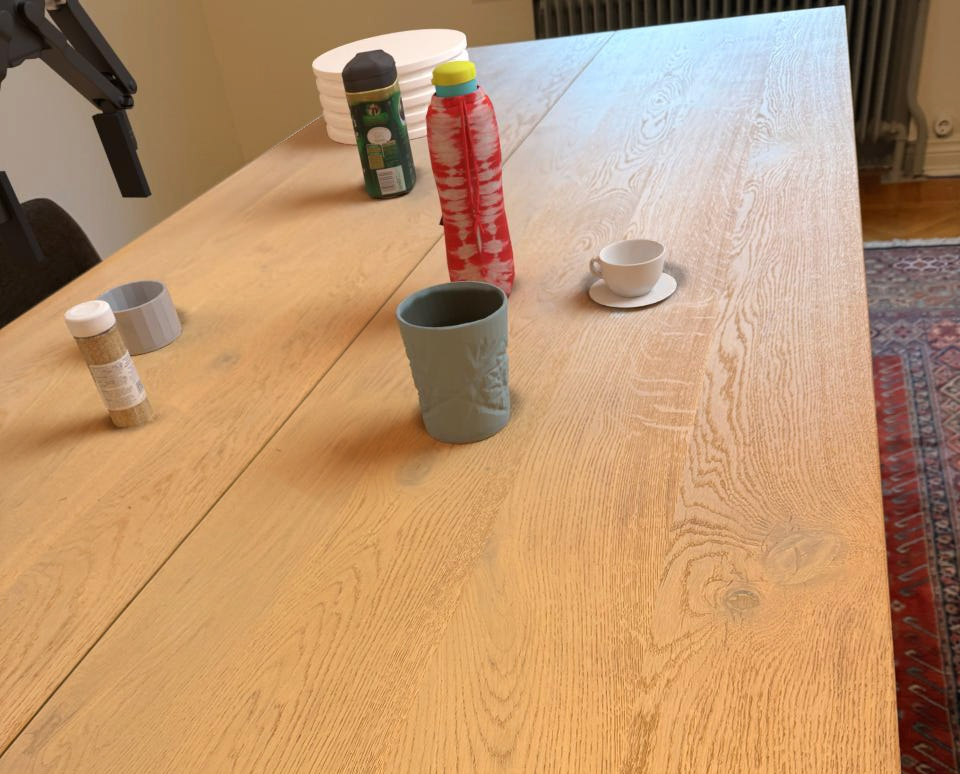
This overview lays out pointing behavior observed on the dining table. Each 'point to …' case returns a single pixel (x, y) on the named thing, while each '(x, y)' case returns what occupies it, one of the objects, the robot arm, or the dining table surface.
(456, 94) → the water bottle
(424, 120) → the plate stack
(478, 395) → the grey embossed cup
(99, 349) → the sprinkles bottle
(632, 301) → the teacup
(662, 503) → the dining table surface
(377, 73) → the coffee jar
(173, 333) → the grey faceted cup
